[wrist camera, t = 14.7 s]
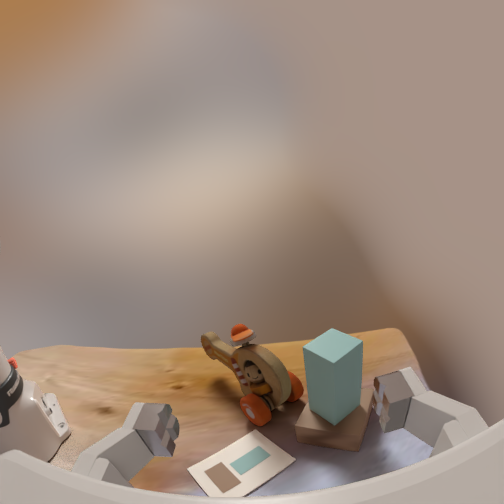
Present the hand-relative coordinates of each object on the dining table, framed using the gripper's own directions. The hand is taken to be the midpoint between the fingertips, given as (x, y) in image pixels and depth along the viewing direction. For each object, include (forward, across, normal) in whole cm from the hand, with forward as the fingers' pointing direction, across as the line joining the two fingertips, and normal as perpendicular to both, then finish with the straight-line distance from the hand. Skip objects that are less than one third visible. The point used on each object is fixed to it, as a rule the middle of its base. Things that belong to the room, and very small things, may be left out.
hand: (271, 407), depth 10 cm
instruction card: (+11, +7, +23) cm, 27 cm away
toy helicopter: (+26, +6, +24) cm, 36 cm away
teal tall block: (+17, -5, +20) cm, 26 cm away
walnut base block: (+16, -6, +24) cm, 29 cm away
